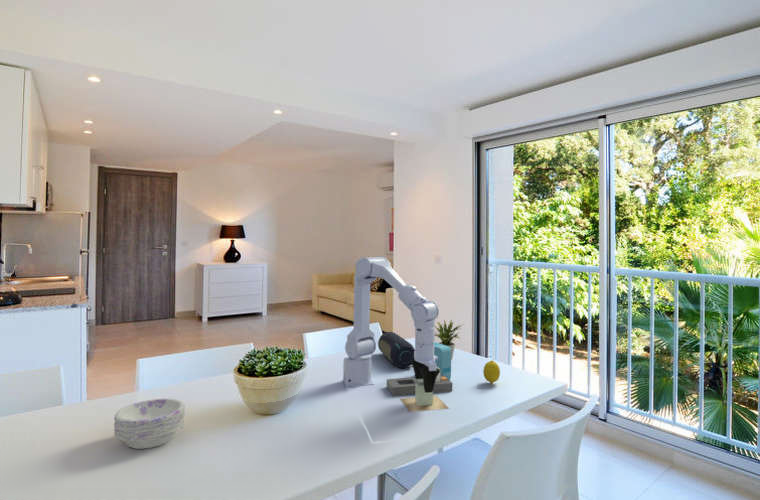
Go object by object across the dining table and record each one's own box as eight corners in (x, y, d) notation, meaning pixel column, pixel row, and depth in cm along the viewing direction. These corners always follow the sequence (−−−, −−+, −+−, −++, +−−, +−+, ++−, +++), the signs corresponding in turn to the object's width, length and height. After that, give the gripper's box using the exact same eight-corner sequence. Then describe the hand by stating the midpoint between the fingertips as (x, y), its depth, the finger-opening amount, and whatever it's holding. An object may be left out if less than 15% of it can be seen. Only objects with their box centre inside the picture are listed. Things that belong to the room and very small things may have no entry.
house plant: (464, 365, 169) (464, 324, 168) (428, 363, 172) (429, 322, 171) (464, 356, 183) (465, 317, 182) (431, 353, 186) (432, 316, 185)
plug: (418, 406, 128) (418, 382, 127) (415, 402, 131) (415, 379, 130) (432, 404, 129) (433, 381, 128) (429, 400, 132) (429, 378, 131)
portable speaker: (375, 353, 186) (375, 330, 185) (397, 352, 189) (397, 329, 188) (393, 371, 162) (394, 344, 161) (418, 369, 165) (419, 343, 164)
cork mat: (409, 413, 123) (409, 411, 123) (400, 400, 133) (400, 398, 133) (449, 409, 126) (449, 408, 126) (436, 397, 136) (436, 395, 136)
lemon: (498, 381, 151) (498, 358, 151) (501, 386, 146) (501, 363, 146) (482, 380, 152) (482, 357, 152) (484, 385, 146) (484, 362, 146)
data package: (451, 381, 151) (451, 347, 151) (441, 383, 149) (442, 348, 148) (427, 372, 161) (428, 340, 161) (418, 374, 158) (419, 341, 158)
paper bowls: (167, 421, 117) (167, 392, 116) (196, 438, 107) (196, 407, 107) (104, 442, 105) (104, 409, 105) (129, 463, 95) (129, 427, 95)
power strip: (392, 396, 136) (392, 385, 136) (386, 388, 143) (386, 377, 143) (452, 392, 140) (452, 381, 140) (443, 383, 148) (443, 373, 148)
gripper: (446, 347, 123) (446, 395, 123) (429, 336, 137) (428, 378, 137) (422, 349, 121) (422, 397, 122) (407, 337, 135) (407, 380, 136)
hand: (424, 387), depth 129 cm, fingers open, 7 cm apart
